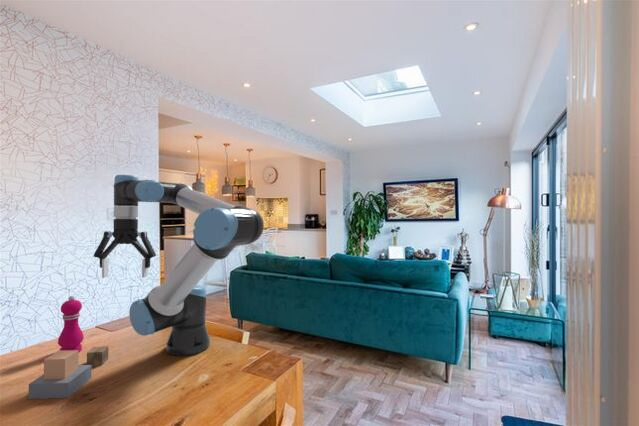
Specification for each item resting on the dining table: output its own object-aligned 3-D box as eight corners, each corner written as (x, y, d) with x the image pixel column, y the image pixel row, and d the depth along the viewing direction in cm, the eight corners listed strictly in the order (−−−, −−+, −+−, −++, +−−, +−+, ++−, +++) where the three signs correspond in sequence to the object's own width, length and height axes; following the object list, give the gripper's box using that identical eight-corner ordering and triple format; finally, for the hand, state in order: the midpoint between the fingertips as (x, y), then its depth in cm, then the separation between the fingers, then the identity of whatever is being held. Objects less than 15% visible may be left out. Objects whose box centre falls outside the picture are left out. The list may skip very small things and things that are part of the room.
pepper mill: (55, 357, 109) (55, 299, 109) (60, 349, 115) (61, 294, 115) (81, 353, 112) (82, 297, 112) (85, 345, 118) (85, 292, 118)
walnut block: (93, 360, 108) (108, 359, 109) (86, 366, 103) (102, 365, 104) (93, 346, 108) (108, 346, 109) (86, 352, 103) (102, 351, 104)
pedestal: (91, 378, 96) (91, 364, 96) (68, 397, 86) (68, 382, 86) (55, 379, 95) (56, 365, 95) (28, 398, 85) (28, 383, 85)
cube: (78, 368, 94) (78, 350, 94) (64, 378, 88) (65, 358, 88) (58, 369, 93) (58, 350, 93) (43, 379, 88) (43, 359, 88)
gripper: (165, 218, 120) (165, 274, 120) (95, 217, 117) (94, 274, 118) (157, 218, 112) (156, 279, 112) (82, 217, 110) (81, 279, 110)
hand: (125, 276), depth 115 cm, fingers open, 13 cm apart
